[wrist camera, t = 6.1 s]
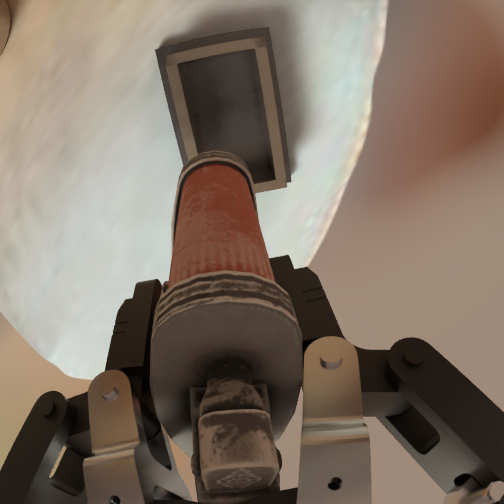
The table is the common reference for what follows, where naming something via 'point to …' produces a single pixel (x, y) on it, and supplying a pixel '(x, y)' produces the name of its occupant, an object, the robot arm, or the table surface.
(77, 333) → the table surface
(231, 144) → the rectangular tray
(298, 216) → the table surface
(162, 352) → the lighter
